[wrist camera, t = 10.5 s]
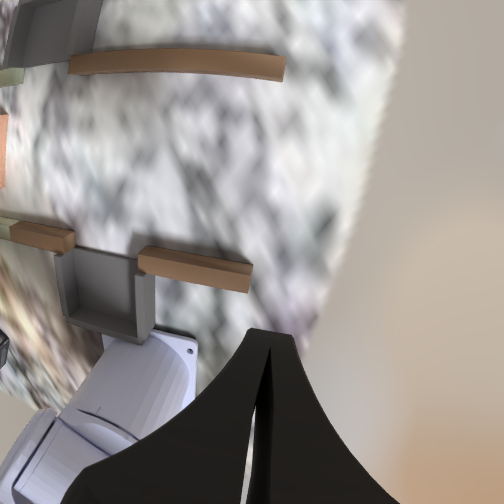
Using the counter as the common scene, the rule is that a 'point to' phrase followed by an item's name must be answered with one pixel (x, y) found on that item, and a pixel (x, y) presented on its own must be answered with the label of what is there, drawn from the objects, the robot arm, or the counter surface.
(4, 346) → the small box
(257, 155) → the counter surface
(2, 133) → the block
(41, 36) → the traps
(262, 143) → the counter surface
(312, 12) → the counter surface
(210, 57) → the lane
